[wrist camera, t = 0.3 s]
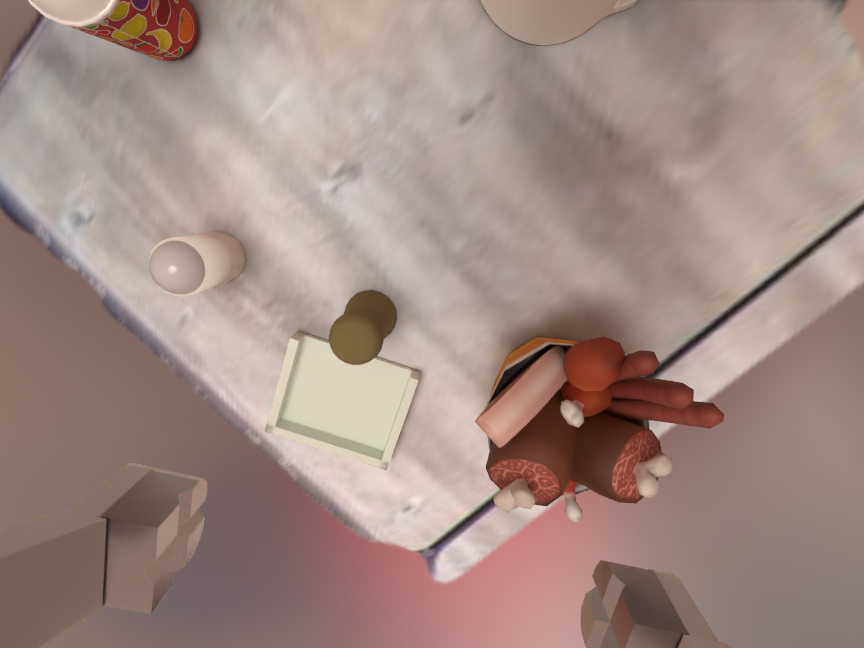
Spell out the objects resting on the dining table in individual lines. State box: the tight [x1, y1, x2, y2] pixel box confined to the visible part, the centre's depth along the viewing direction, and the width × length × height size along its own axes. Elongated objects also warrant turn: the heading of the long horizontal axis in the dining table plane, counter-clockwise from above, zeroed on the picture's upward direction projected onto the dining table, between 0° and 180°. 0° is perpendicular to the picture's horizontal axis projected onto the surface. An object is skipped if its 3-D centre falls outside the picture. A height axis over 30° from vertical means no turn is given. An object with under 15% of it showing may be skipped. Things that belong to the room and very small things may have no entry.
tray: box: [265, 331, 420, 470], centre depth 57 cm, size 12×15×3 cm
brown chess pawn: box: [329, 290, 397, 365], centre depth 50 cm, size 6×6×11 cm
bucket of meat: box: [475, 337, 724, 522], centre depth 47 cm, size 20×16×20 cm
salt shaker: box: [149, 232, 246, 297], centre depth 49 cm, size 6×6×11 cm
